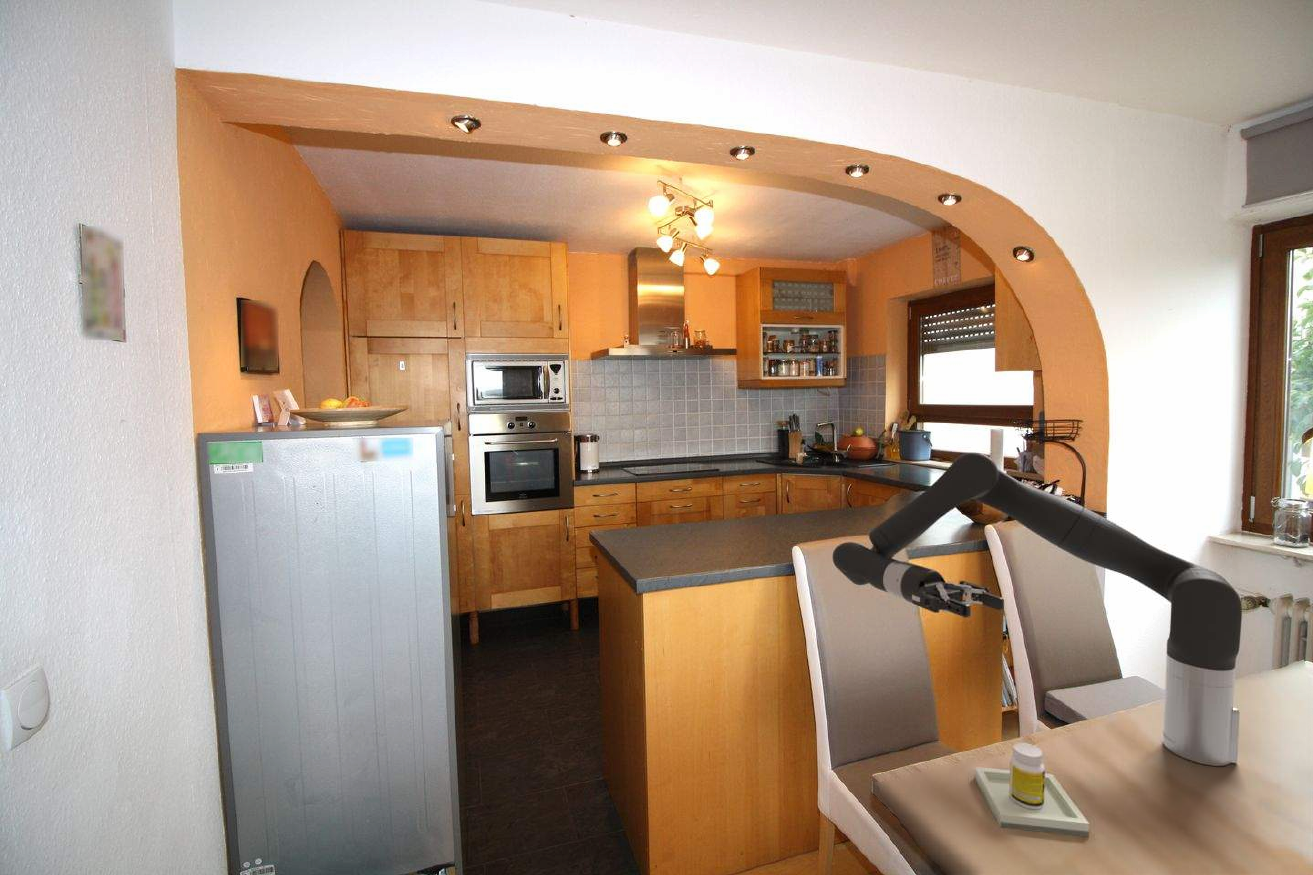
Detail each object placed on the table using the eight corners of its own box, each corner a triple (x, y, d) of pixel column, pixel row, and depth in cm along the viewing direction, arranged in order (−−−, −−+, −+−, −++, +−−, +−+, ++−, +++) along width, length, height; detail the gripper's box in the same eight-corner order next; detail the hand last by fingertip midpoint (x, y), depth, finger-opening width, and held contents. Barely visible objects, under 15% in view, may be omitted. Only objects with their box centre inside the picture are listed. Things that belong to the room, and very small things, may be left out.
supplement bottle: (1049, 812, 93) (1050, 759, 93) (1015, 808, 94) (1017, 756, 94) (1036, 792, 98) (1037, 742, 97) (1004, 788, 99) (1005, 739, 98)
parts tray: (1051, 785, 101) (1052, 774, 101) (1088, 836, 89) (1089, 823, 89) (974, 778, 103) (974, 766, 103) (1000, 826, 91) (1000, 814, 91)
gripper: (886, 569, 118) (958, 592, 103) (938, 560, 124) (1013, 581, 109) (885, 606, 118) (957, 635, 103) (938, 596, 124) (1012, 622, 109)
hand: (986, 608), depth 106 cm, fingers open, 8 cm apart
